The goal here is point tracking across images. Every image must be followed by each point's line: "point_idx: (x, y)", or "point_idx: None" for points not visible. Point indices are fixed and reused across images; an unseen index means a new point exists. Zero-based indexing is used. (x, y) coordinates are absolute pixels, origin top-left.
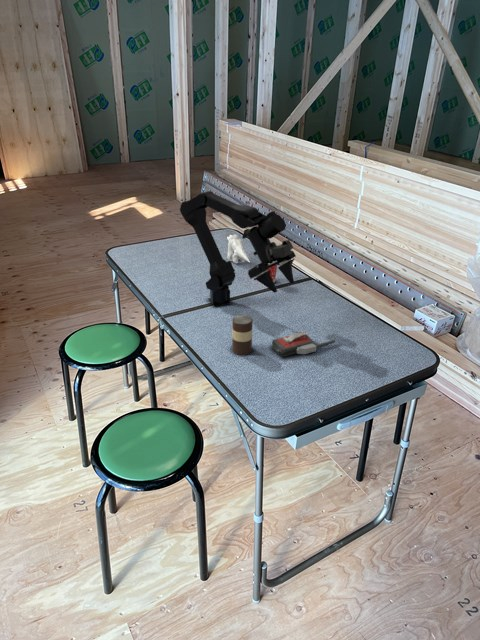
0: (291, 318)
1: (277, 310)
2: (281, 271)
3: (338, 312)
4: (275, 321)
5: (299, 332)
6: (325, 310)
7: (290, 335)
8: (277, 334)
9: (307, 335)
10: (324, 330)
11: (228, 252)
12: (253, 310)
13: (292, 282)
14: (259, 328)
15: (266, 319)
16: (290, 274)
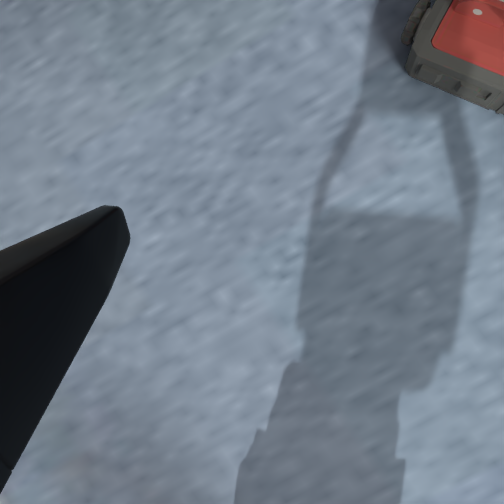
0: (207, 252)
1: (169, 367)
2: (4, 474)
3: (10, 79)
4: (293, 312)
5: (497, 5)
6: (27, 145)
7: (501, 84)
8: (430, 221)
9: (417, 5)
10: (224, 30)
11: None
12: (249, 491)
13: (120, 218)
14: (430, 352)
15: (302, 370)
16: (32, 271)
